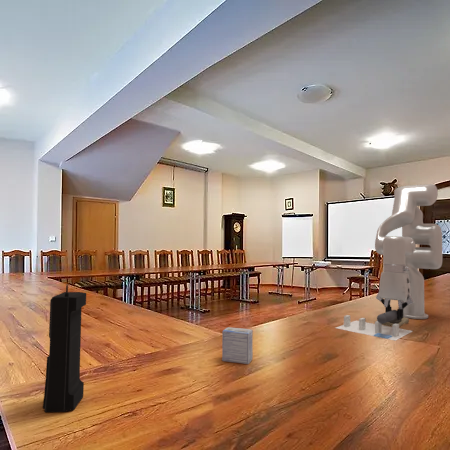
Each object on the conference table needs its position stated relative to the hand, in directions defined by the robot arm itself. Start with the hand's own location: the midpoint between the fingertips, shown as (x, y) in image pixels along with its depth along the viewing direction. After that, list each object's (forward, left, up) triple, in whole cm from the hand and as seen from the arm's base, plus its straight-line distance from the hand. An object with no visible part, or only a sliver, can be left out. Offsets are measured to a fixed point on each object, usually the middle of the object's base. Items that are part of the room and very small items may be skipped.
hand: (394, 318), depth 129 cm
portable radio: (+109, -27, -6) cm, 113 cm away
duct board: (+4, -6, -6) cm, 9 cm away
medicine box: (+64, -20, -6) cm, 68 cm away
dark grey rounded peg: (+6, 0, 0) cm, 6 cm away
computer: (-14, -5, -6) cm, 16 cm away
